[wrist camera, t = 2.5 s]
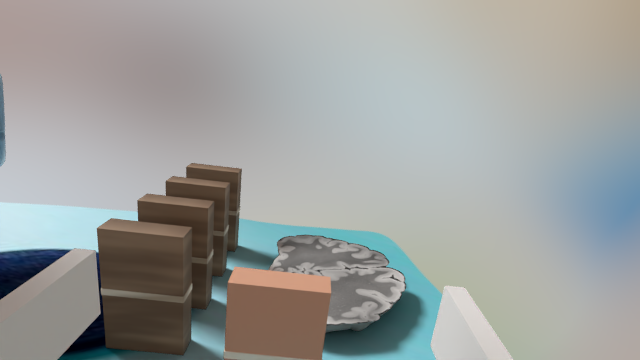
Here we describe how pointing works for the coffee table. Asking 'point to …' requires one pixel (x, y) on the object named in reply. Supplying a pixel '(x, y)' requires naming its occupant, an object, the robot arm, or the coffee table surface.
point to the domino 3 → (202, 222)
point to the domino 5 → (276, 315)
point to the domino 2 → (221, 211)
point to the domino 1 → (234, 196)
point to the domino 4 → (146, 285)
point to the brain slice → (344, 277)
